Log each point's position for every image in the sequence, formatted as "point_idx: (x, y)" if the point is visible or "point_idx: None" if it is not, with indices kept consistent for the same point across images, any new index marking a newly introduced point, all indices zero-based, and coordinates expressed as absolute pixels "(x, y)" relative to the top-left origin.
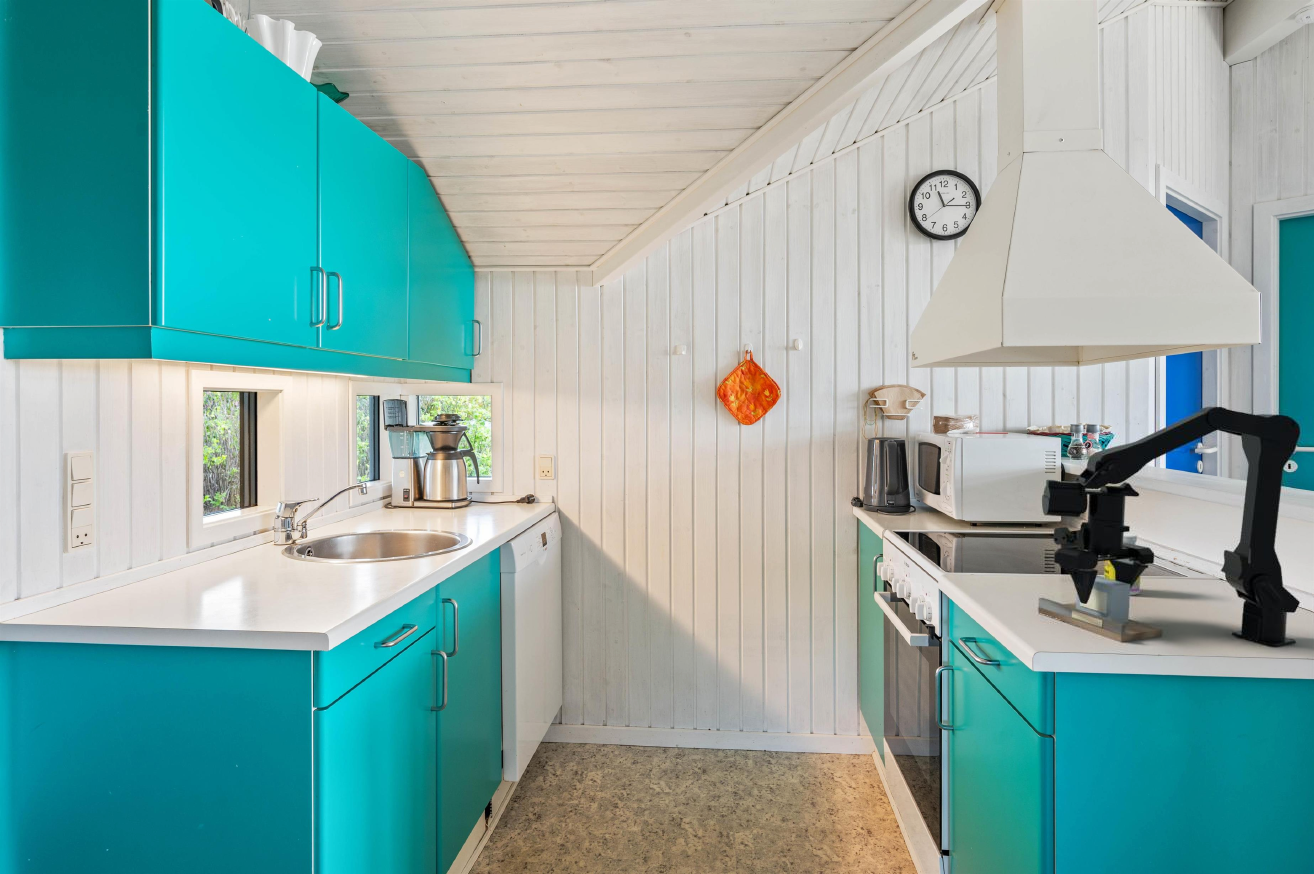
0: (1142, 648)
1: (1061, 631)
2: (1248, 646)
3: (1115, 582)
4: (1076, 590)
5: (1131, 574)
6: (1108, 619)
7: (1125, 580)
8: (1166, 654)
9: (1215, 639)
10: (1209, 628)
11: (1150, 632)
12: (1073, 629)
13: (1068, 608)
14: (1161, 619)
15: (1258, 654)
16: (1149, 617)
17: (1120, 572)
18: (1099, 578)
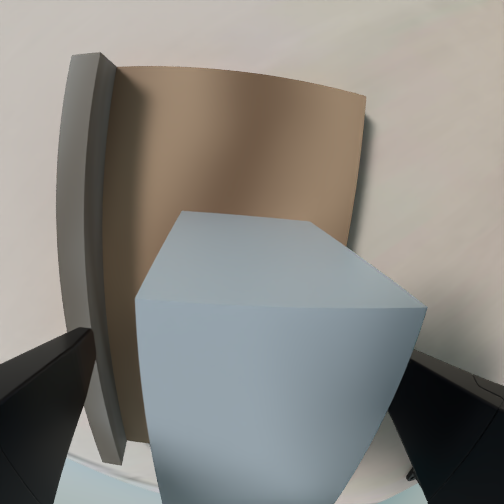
0: (131, 456)
1: (5, 294)
2: (380, 476)
3: (293, 493)
4: (27, 352)
5: (438, 495)
6: (104, 427)
7: (427, 445)
8: (154, 482)
9: (381, 451)
10: None
11: None
12: (55, 298)
13: (60, 261)
14: (464, 322)
15: (340, 499)
16: (461, 298)
17: (475, 444)
18: (316, 414)
